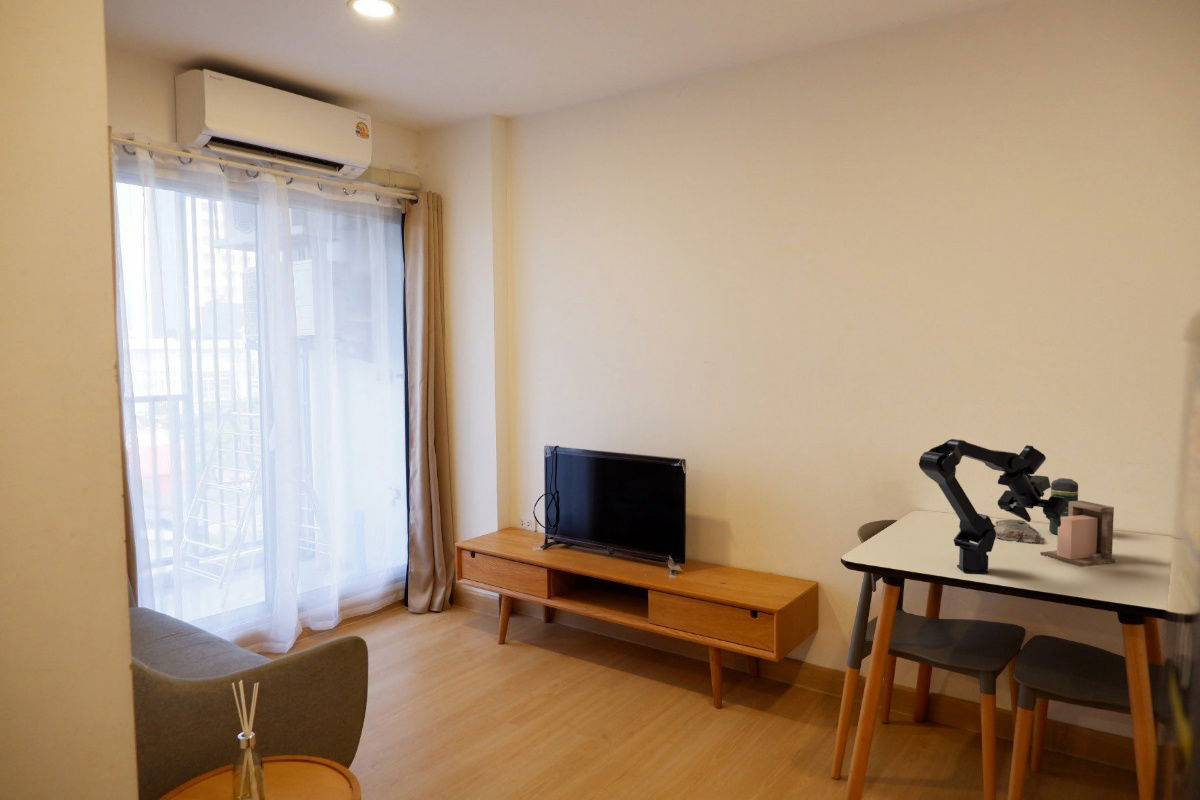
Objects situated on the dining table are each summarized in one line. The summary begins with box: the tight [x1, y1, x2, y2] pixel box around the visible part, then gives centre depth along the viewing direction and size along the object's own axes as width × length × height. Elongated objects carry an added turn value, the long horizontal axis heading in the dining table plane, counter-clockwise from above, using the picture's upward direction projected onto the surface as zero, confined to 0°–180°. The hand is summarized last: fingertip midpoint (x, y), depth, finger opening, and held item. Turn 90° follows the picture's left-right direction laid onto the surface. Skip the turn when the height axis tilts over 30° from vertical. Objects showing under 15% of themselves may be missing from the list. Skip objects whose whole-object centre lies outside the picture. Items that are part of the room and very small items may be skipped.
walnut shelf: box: [1040, 500, 1117, 567], centre depth 222 cm, size 14×13×16 cm
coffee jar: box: [1048, 477, 1079, 535], centre depth 253 cm, size 10×8×19 cm
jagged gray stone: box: [994, 519, 1041, 544], centre depth 251 cm, size 14×5×20 cm
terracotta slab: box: [1056, 515, 1098, 559], centre depth 222 cm, size 10×4×12 cm, turn 107°
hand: (1044, 523), depth 220 cm, fingers open, 9 cm apart
